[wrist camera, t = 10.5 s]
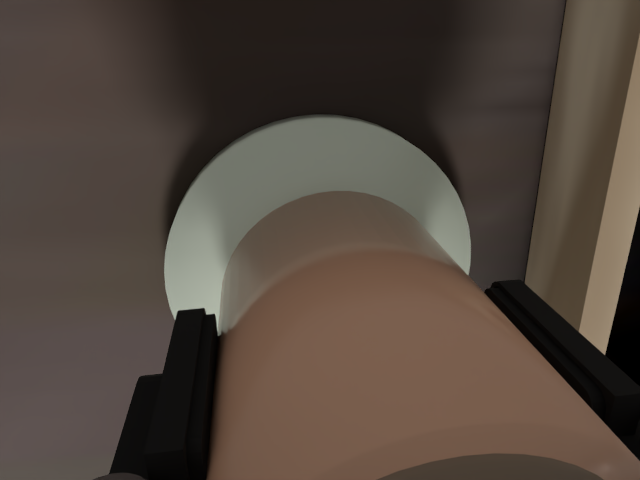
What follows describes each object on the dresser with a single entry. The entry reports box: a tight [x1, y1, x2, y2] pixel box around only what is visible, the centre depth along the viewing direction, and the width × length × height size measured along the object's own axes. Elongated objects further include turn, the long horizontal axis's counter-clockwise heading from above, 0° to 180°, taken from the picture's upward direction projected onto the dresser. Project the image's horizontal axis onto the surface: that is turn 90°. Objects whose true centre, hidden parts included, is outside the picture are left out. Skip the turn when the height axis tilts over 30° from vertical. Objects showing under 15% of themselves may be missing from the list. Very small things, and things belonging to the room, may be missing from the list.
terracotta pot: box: [206, 191, 640, 480], centre depth 8 cm, size 6×6×12 cm
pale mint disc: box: [164, 114, 471, 331], centre depth 15 cm, size 9×9×1 cm
